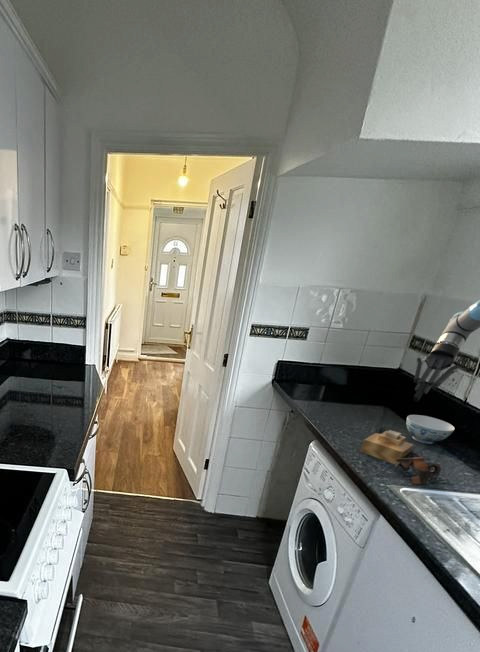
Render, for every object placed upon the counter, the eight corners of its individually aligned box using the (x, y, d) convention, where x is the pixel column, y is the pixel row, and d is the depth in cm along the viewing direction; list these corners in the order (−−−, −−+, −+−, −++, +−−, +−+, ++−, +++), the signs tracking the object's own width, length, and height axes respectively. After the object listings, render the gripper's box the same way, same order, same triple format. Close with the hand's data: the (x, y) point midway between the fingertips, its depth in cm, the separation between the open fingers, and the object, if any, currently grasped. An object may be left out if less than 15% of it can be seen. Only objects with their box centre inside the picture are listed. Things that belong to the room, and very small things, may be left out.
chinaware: (398, 429, 171) (405, 411, 168) (442, 439, 165) (451, 421, 162) (401, 441, 160) (409, 423, 156) (449, 453, 153) (458, 434, 150)
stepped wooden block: (408, 457, 147) (415, 439, 144) (397, 465, 140) (405, 447, 138) (371, 445, 155) (377, 428, 153) (359, 452, 149) (365, 434, 146)
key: (399, 437, 146) (401, 433, 146) (396, 440, 144) (397, 435, 143) (388, 434, 149) (389, 429, 148) (384, 436, 147) (386, 432, 146)
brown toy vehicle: (402, 485, 129) (399, 458, 130) (390, 483, 138) (387, 458, 139) (448, 483, 126) (445, 456, 126) (433, 481, 135) (429, 456, 135)
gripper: (467, 358, 150) (436, 410, 147) (425, 351, 160) (395, 399, 157) (470, 345, 145) (438, 398, 142) (426, 338, 154) (395, 388, 151)
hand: (415, 399), depth 149 cm, fingers closed
